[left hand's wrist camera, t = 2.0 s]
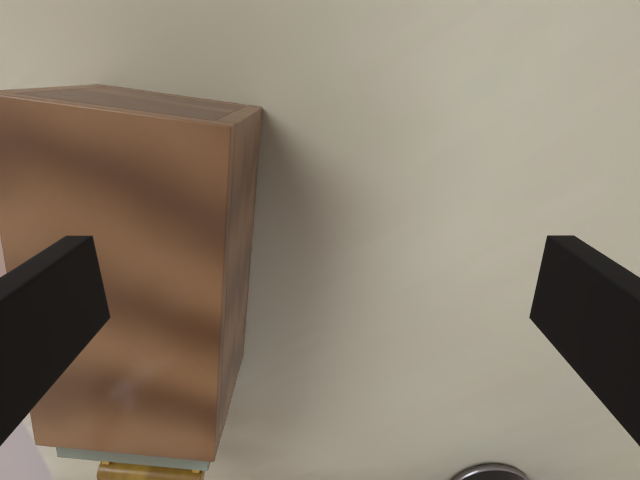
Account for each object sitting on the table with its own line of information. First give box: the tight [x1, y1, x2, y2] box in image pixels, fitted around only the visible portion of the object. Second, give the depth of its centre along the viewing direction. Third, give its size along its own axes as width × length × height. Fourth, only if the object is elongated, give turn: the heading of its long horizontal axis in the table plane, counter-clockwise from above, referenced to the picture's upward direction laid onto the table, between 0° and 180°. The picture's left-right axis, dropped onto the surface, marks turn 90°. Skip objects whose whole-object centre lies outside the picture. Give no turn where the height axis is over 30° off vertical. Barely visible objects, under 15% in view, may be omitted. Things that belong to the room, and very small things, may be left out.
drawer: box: [56, 447, 210, 480], centre depth 31 cm, size 26×10×9 cm, turn 172°
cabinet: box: [0, 84, 262, 462], centre depth 28 cm, size 22×12×11 cm, turn 172°
